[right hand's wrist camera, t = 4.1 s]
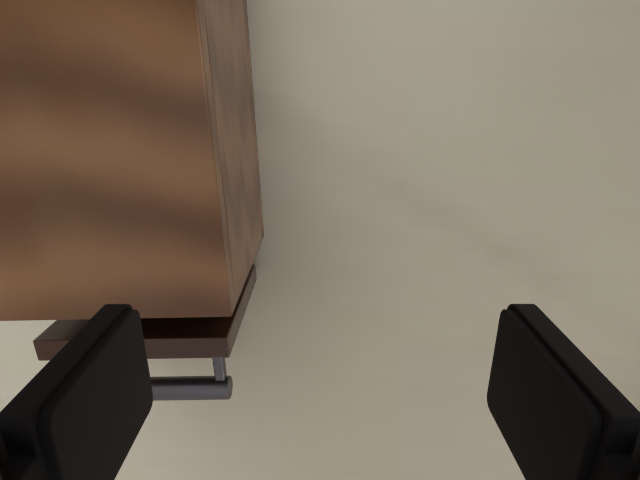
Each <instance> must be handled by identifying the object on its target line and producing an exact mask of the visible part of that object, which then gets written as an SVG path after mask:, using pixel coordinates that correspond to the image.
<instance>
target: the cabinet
mask: <svg viewBox="0 0 640 480" xmlns="http://www.w3.org/2000/svg"><path fill="white" fill-rule="evenodd" d="M263 236H264V232H263V219H262V205H261V192H260V179H259V165H258V152H257V139H256V126H255V112H254V99H253V86H252V72H251V59H250V46H249V32H248V19H247V6H246V0H0V321H15V320H70V319H91V318H92V317H93V316H94V315H95V314H96V313H97V312H98V311H99V310H100V309H101V308H102V307H103V306H104V305H105V304H130V305H131V306H132V308H133V310H138V312H139V314H140V318H181V317H230V316H232V314H233V311H234V309H235V306H236V304H237V301H238V299H239V296H240V294H241V291H242V289H243V286H244V284H245V281H246V279H247V276H248V274H249V271H250V269H251V266H252V264H253V261H254V259H255V256H256V254H257V251H258V249H259V246H260V244H261V241H262V239H263Z"/></svg>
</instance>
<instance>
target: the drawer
mask: <svg viewBox="0 0 640 480" xmlns="http://www.w3.org/2000/svg"><path fill="white" fill-rule="evenodd" d="M255 282H256V269H255V265H252V266H251V269H250V271H249V274H248V276H247V279H246V281H245V284H244V286H243V289H242V291H241V294H240V296H239V299H238V301H237V304H236V306H235V309H234V311H233V314H232V316H230V317H181V318H140V319H141V325H142V331H143V337H144V343H145V349H146V356H147V359H162V358H213V366H214V373H215V376H181V377H150V380H151V386H152V392H153V400H219V399H230V398H231V395H232V377H231V376H226V375H227V374H226V365H225V357H229V356H230V353H231V350H232V348H233V345H234V342H235V339H236V336H237V333H238V330H239V328H240V325H241V322H242V319H243V316H244V313H245V310H246V307H247V305H248V302H249V299H250V296H251V293H252V290H253V287H254V285H255ZM89 320H90V319H70V320H56V321H55V322H54V323H53V324H52V325H51V326H49V327H48V328H47V329H46V330H45V331H44V332H43V333H42V334H40V335H39V336H38V337H37V338H36V339H35V340H34V341H33V343H34V346H35V350H36V353H37V356H38V360H51V359H52V358H53V357H54V356H55V355H56V354H57V353H58V352H59V351H60V350H61V349H62V348H63V347H64V346H65V345H66V344H67V343H68V342H69V341H70V340H71V339H72V338H73V337H74V336H75V335H76V334H77V333H78V332H79V331H80V329H81V328H82V327H83V326H84V325H85V324H86V323H87V322H88V321H89Z"/></svg>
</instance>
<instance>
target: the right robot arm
mask: <svg viewBox="0 0 640 480" xmlns="http://www.w3.org/2000/svg"><path fill="white" fill-rule="evenodd" d="M152 402H153V392H152V386H151V380H150V374H149V368H148V362H147V356H146V349H145V343H144V337H143V331H142V325H141V319H140V314H139V312H138V310H133V308H132V306H131V305H130V304H105V305H104V306H103V307H102V308H101V309H100V310H99V311H98V312H97V313H96V314H95V315H94V316H93V317H92V318H91V319H90V320H89V321H88V322H87V323H86V324H85V325H84V326H83V327H82V328H81V329H80V331H79V332H78V333H77V334H76V335H75V336H74V337H73V338H72V339H71V340H70V341H69V342H68V343H67V344H66V345H65V346H64V347H63V348H62V349H61V350H60V351H59V352H58V353H57V354H56V355H55V356H54V357H53V358H52V359H51V360H50V361H49V362H48V363H47V365H46V366H45V367H44V368H43V369H42V370H41V371H40V372H39V373H38V374H37V375H36V376H35V377H34V378H33V379H32V380H31V381H30V382H29V383H28V384H27V385H26V386H25V387H24V388H23V389H22V390H21V391H20V392H19V393H18V394H17V395H16V396H15V398H14V399H13V400H12V401H11V402H10V403H9V404H8V405H7V406H6V407H5V408H4V409H3V410H2V411H1V412H0V480H114V479H115V477H116V475H117V473H118V471H119V470H120V468H121V466H122V464H123V462H124V460H125V458H126V456H127V454H128V452H129V450H130V448H131V446H132V444H133V443H134V441H135V439H136V437H137V435H138V433H139V431H140V429H141V427H142V425H143V423H144V421H145V419H146V417H147V415H148V414H149V412H150V409H151V407H152ZM487 402H488V407H489V409H490V412H491V414H492V415H493V417H494V419H495V421H496V423H497V425H498V427H499V429H500V431H501V433H502V435H503V437H504V439H505V441H506V443H507V444H508V446H509V448H510V450H511V452H512V454H513V456H514V458H515V460H516V462H517V464H518V466H519V468H520V470H521V471H522V473H523V475H524V477H525V479H526V480H640V412H639V411H638V410H637V409H636V408H635V407H634V406H633V405H632V404H631V403H630V402H629V401H628V400H627V399H626V398H625V396H624V395H623V394H622V393H621V392H620V391H619V390H618V389H617V388H616V387H615V386H614V385H613V384H612V383H611V382H610V381H609V380H608V379H607V378H606V377H605V376H604V375H603V374H602V373H601V372H600V371H599V370H598V369H597V368H596V367H595V366H594V365H593V363H592V362H591V361H590V360H589V359H588V358H587V357H586V356H585V355H584V354H583V353H582V352H581V351H580V350H579V349H578V348H577V347H576V346H575V345H574V344H573V343H572V342H571V341H570V340H569V339H568V338H567V337H566V336H565V335H564V334H563V333H562V332H561V331H560V329H559V328H558V327H557V326H556V325H555V324H554V323H553V322H552V321H551V320H550V319H549V318H548V317H547V316H546V315H545V314H544V313H543V312H542V311H541V310H540V309H539V308H538V307H537V306H536V305H535V304H510V305H509V306H508V308H507V310H502V312H501V314H500V319H499V325H498V331H497V337H496V343H495V349H494V355H493V362H492V368H491V374H490V380H489V386H488V392H487Z"/></svg>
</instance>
